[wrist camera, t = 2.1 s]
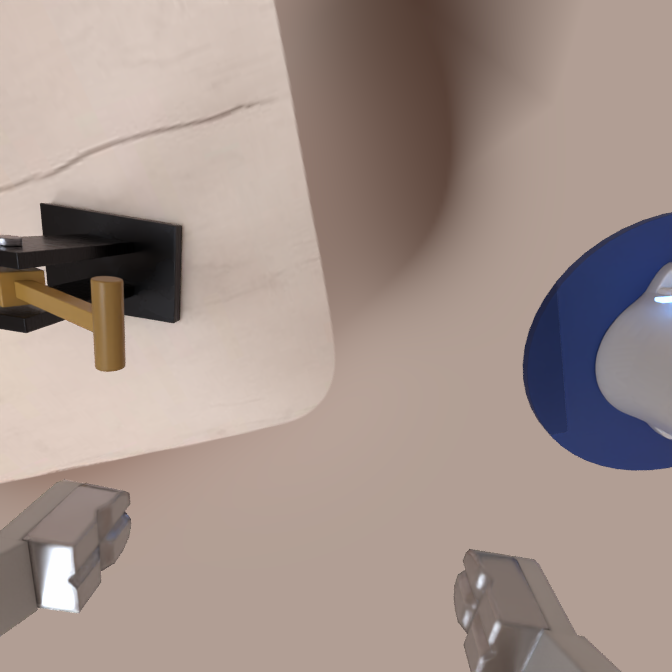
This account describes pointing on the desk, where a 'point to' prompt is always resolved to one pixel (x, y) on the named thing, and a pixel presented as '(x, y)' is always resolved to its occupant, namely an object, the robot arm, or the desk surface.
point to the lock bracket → (98, 262)
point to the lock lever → (75, 309)
